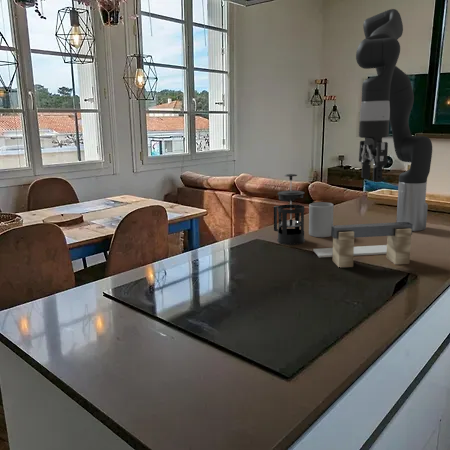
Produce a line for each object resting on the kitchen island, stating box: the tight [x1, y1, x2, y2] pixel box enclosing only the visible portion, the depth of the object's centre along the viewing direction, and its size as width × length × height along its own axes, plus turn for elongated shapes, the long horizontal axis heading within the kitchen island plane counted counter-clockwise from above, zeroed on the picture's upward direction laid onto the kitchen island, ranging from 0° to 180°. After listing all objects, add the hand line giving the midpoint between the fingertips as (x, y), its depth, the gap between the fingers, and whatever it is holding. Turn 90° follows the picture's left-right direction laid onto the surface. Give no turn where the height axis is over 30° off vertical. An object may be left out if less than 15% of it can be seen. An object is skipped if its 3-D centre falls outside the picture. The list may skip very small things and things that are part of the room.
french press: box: [273, 173, 306, 246], centre depth 143 cm, size 12×9×23 cm
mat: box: [312, 244, 387, 258], centre depth 131 cm, size 26×7×1 cm, turn 93°
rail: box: [330, 222, 413, 239], centre depth 119 cm, size 22×3×3 cm, turn 93°
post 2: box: [385, 228, 412, 265], centre depth 120 cm, size 4×6×10 cm, turn 3°
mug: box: [308, 201, 335, 238], centre depth 153 cm, size 12×8×11 cm
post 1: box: [332, 231, 355, 268], centre depth 120 cm, size 4×6×10 cm, turn 3°
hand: (371, 179), depth 117 cm, fingers open, 8 cm apart
